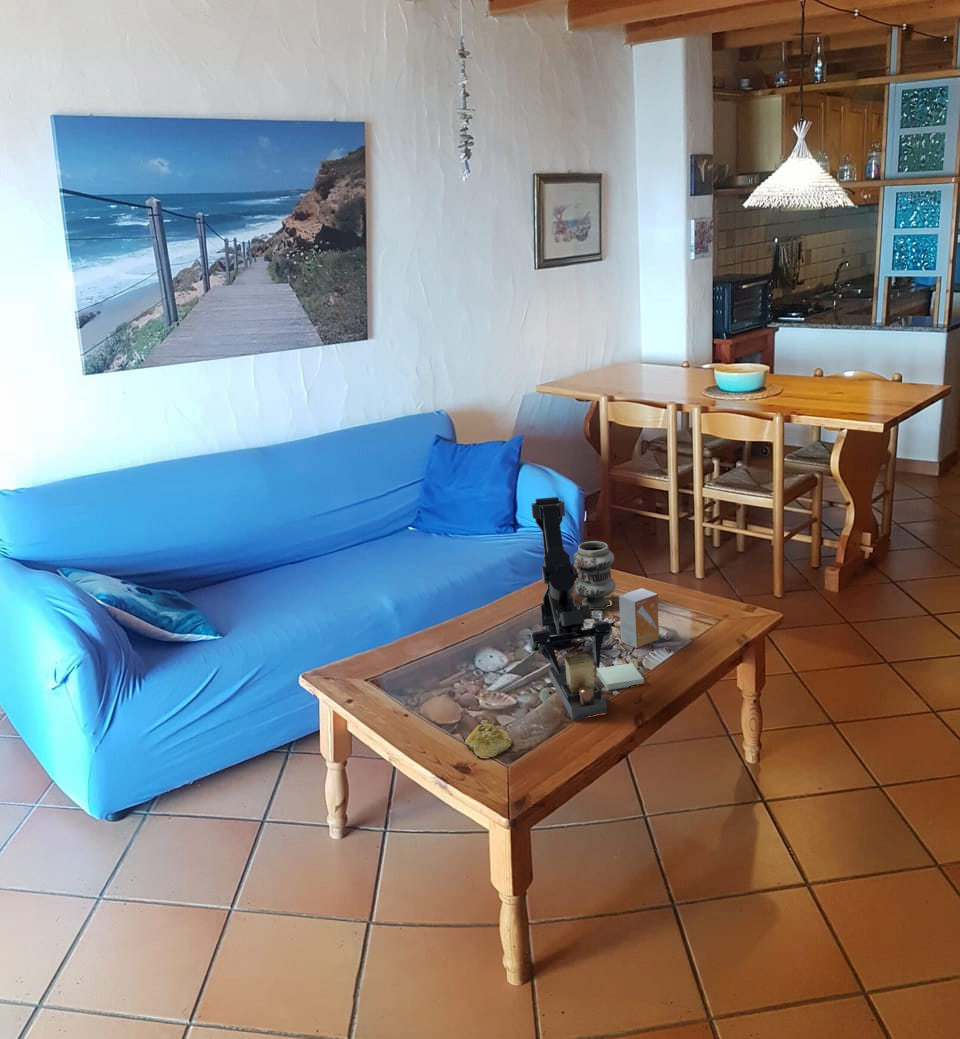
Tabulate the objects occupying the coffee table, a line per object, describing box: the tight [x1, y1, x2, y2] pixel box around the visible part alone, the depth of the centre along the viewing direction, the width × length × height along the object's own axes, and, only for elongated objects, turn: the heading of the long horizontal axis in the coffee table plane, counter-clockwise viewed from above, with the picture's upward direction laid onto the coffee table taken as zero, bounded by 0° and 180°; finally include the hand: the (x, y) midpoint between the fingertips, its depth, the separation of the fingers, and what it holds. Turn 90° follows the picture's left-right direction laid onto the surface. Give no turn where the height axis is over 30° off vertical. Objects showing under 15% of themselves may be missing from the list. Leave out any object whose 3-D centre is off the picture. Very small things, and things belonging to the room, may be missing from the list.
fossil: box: [464, 723, 513, 758], centre depth 208 cm, size 11×6×10 cm
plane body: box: [548, 664, 608, 721], centre depth 225 cm, size 22×8×6 cm, turn 9°
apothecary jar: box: [572, 540, 616, 610], centre depth 277 cm, size 12×12×18 cm
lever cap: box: [564, 653, 595, 695], centre depth 221 cm, size 5×6×8 cm
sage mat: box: [596, 662, 645, 691], centre depth 232 cm, size 9×9×2 cm
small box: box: [618, 587, 660, 649], centre depth 251 cm, size 8×6×13 cm
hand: (579, 670), depth 220 cm, fingers open, 9 cm apart
